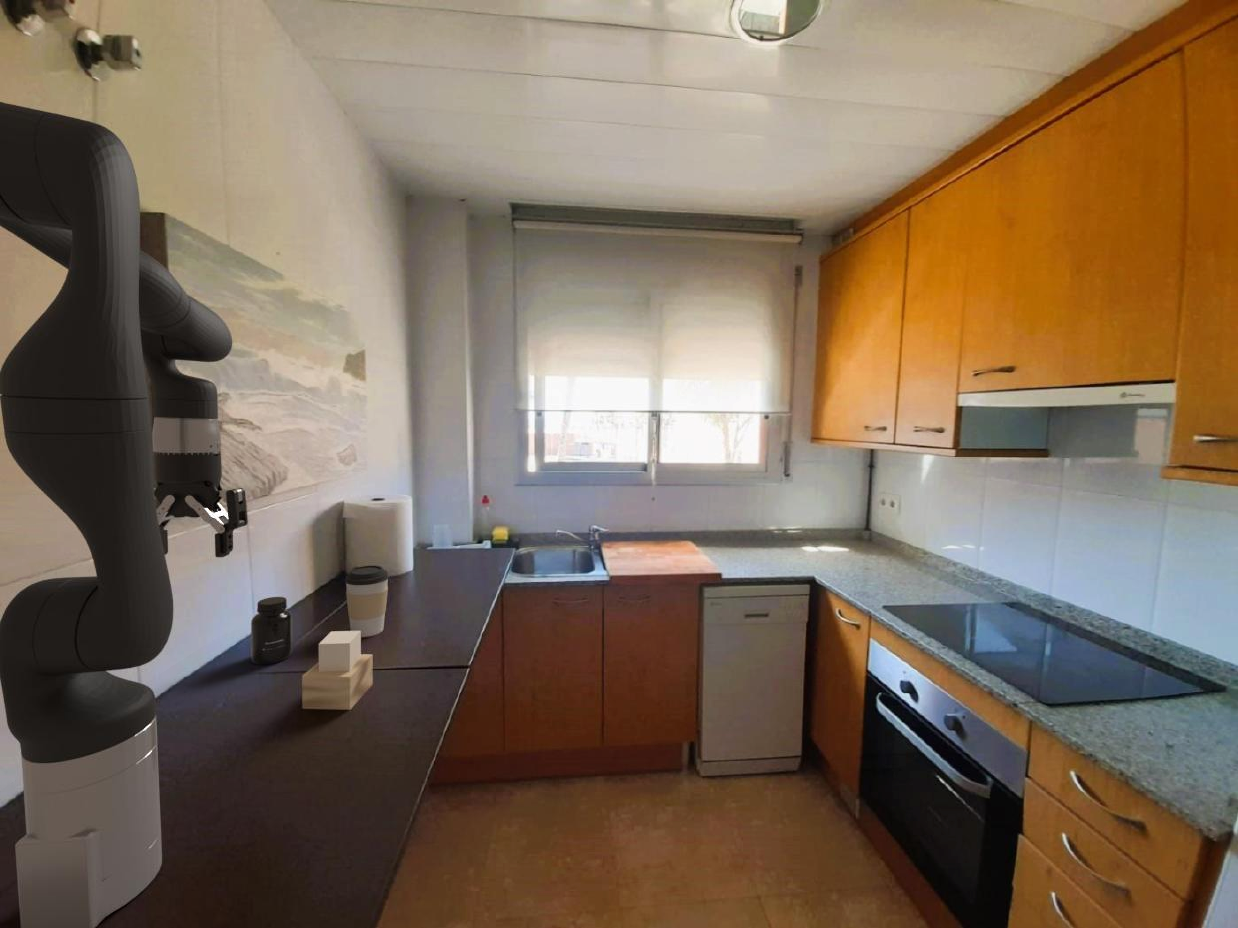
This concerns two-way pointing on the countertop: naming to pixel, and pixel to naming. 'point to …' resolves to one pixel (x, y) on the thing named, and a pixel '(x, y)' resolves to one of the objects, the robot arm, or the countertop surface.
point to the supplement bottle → (271, 631)
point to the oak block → (337, 686)
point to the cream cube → (339, 651)
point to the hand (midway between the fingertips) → (191, 555)
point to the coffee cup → (367, 599)
